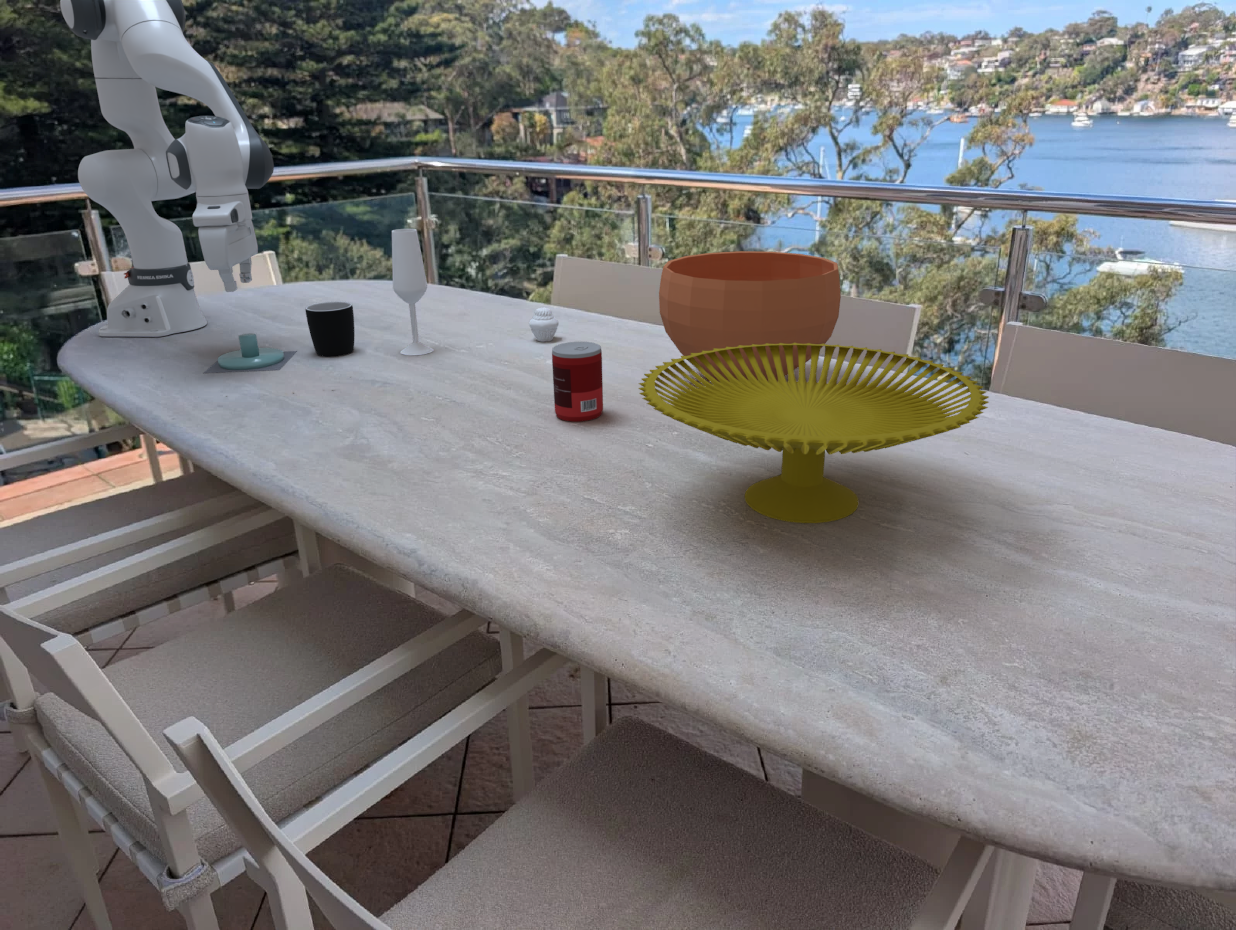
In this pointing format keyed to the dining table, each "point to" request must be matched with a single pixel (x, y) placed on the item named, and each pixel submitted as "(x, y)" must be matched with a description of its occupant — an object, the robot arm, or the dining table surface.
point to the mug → (331, 328)
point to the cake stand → (810, 417)
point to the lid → (250, 355)
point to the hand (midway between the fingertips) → (239, 286)
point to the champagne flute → (409, 280)
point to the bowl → (749, 304)
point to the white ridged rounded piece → (543, 324)
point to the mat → (217, 369)
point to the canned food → (577, 381)
